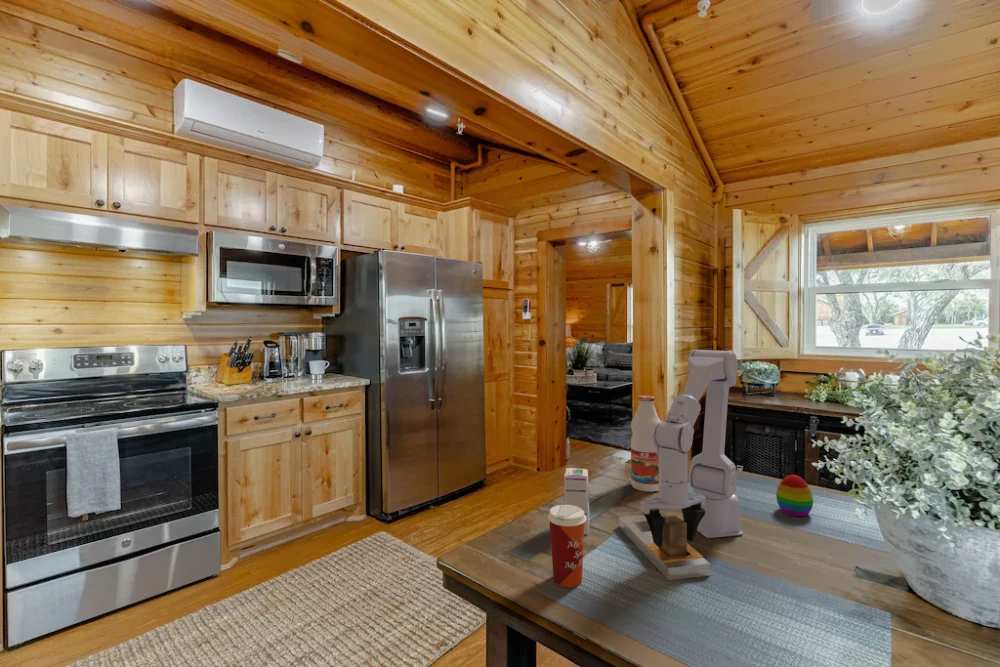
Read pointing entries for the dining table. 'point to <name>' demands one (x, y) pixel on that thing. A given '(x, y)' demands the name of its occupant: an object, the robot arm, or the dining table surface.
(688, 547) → the grey rail
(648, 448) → the fruit juice
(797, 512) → the decorative egg
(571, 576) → the paper cup
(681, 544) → the walnut peg
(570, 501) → the syrup box
